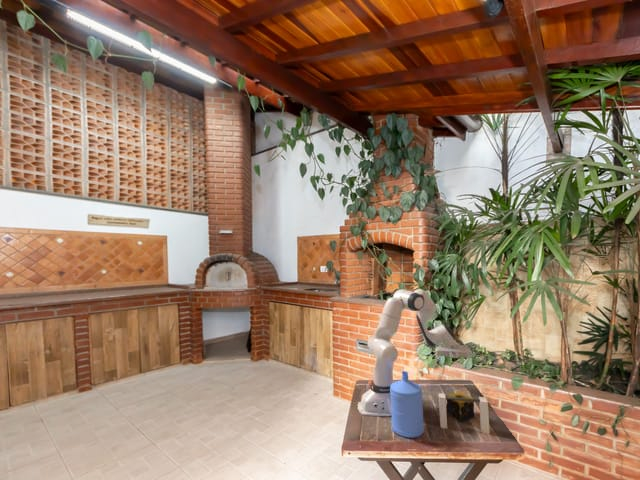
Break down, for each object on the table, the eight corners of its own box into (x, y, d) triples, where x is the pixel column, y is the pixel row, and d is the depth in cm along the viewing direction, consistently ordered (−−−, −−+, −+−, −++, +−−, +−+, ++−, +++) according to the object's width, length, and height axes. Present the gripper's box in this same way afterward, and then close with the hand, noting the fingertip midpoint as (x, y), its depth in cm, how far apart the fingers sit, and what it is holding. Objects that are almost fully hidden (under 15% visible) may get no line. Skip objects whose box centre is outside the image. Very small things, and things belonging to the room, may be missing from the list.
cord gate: (440, 427, 152) (439, 397, 153) (440, 422, 157) (438, 392, 157) (489, 433, 145) (487, 402, 146) (487, 428, 150) (485, 397, 151)
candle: (446, 413, 165) (444, 394, 166) (460, 409, 169) (459, 391, 169) (460, 422, 156) (459, 402, 156) (475, 418, 159) (474, 399, 160)
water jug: (426, 440, 142) (423, 379, 144) (392, 437, 146) (389, 377, 147) (421, 421, 158) (419, 367, 159) (391, 419, 161) (388, 366, 162)
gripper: (433, 343, 190) (435, 350, 177) (469, 345, 184) (473, 352, 171) (434, 353, 190) (436, 361, 176) (470, 355, 184) (474, 363, 170)
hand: (455, 356), depth 173 cm, fingers closed
